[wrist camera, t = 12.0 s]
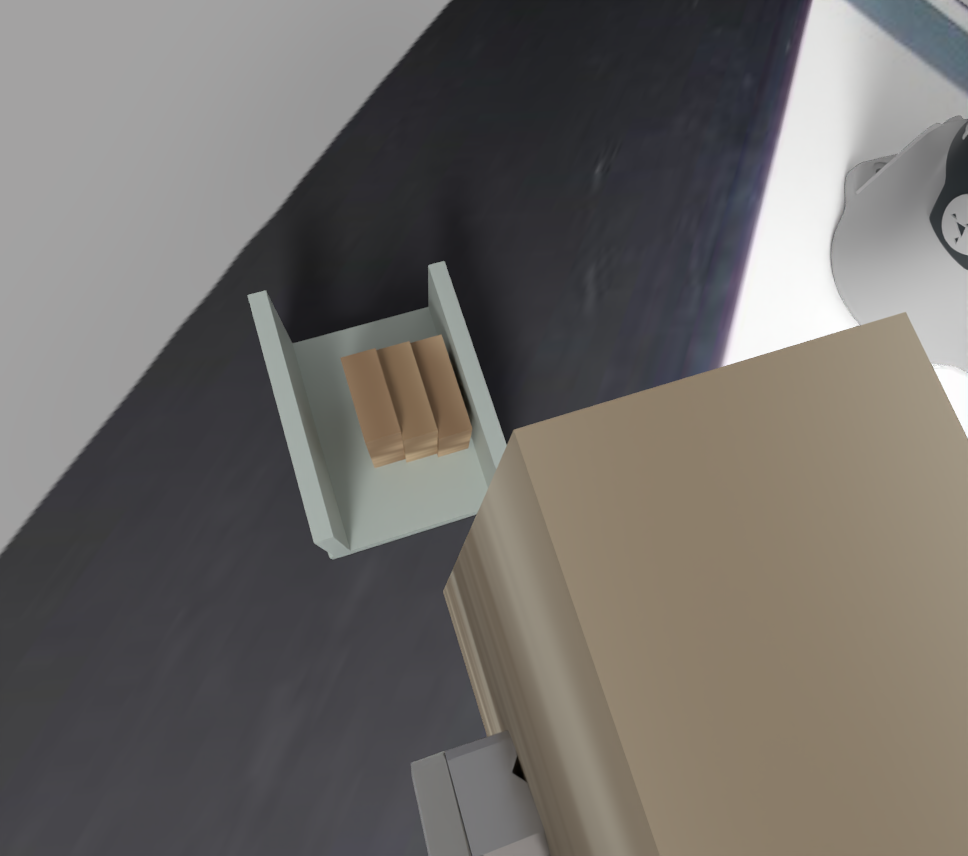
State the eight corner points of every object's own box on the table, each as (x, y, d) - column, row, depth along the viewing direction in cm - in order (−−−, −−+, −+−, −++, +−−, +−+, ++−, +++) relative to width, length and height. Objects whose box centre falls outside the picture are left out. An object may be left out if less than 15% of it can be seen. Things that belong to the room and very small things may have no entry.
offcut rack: (442, 311, 51) (445, 244, 41) (506, 504, 48) (524, 477, 38) (277, 356, 49) (242, 296, 40) (332, 559, 46) (308, 544, 37)
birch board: (504, 571, 23) (903, 311, 4) (558, 734, 22) (1559, 1654, 2) (443, 591, 23) (513, 430, 3) (494, 758, 21) (1052, 2006, 2)
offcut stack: (440, 362, 48) (441, 320, 41) (468, 448, 47) (474, 419, 40) (351, 388, 47) (337, 349, 40) (376, 475, 46) (367, 451, 39)
